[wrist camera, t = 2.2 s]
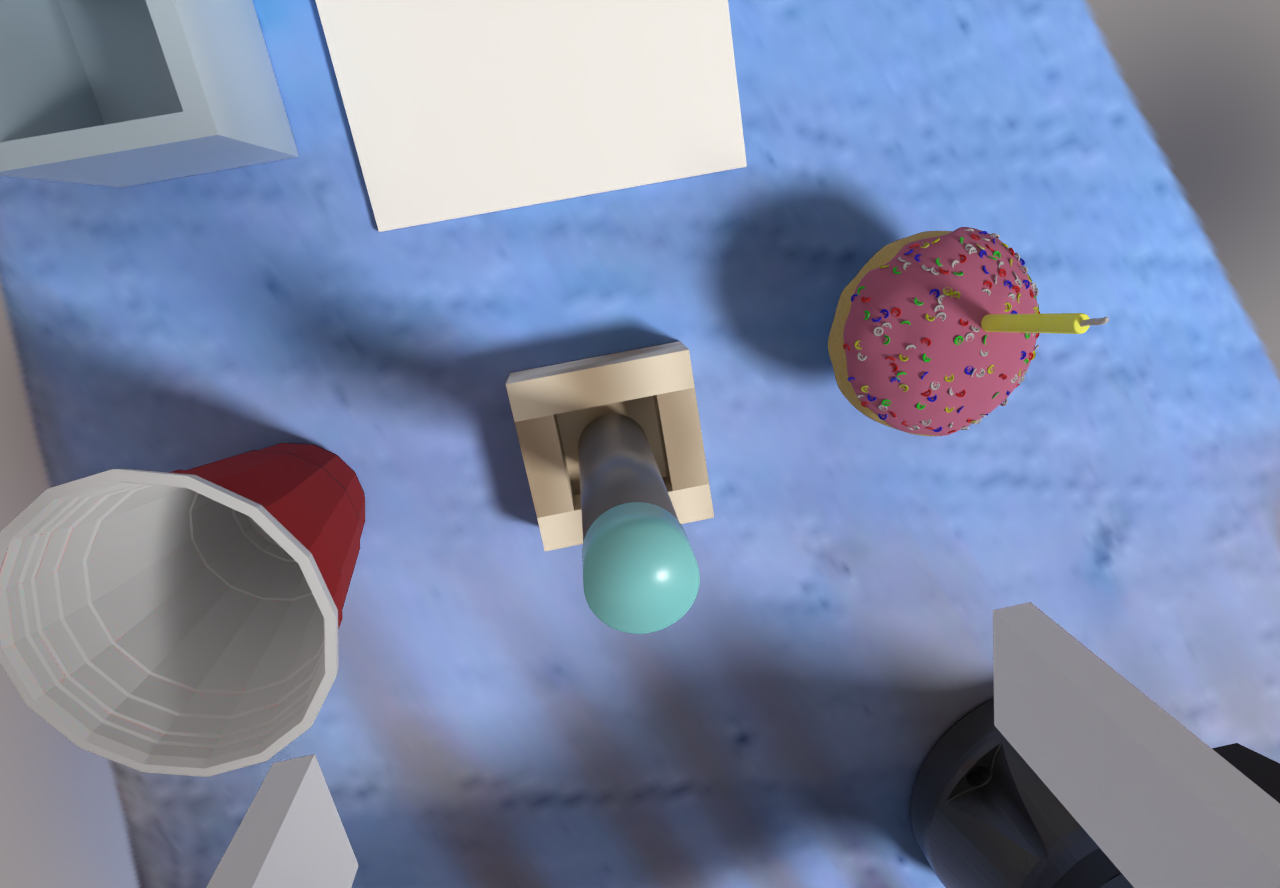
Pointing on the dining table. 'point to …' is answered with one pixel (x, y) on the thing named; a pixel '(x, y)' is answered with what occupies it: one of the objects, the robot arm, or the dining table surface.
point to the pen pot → (136, 90)
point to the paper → (530, 99)
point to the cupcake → (939, 331)
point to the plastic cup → (183, 606)
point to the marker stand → (609, 384)
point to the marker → (631, 532)
